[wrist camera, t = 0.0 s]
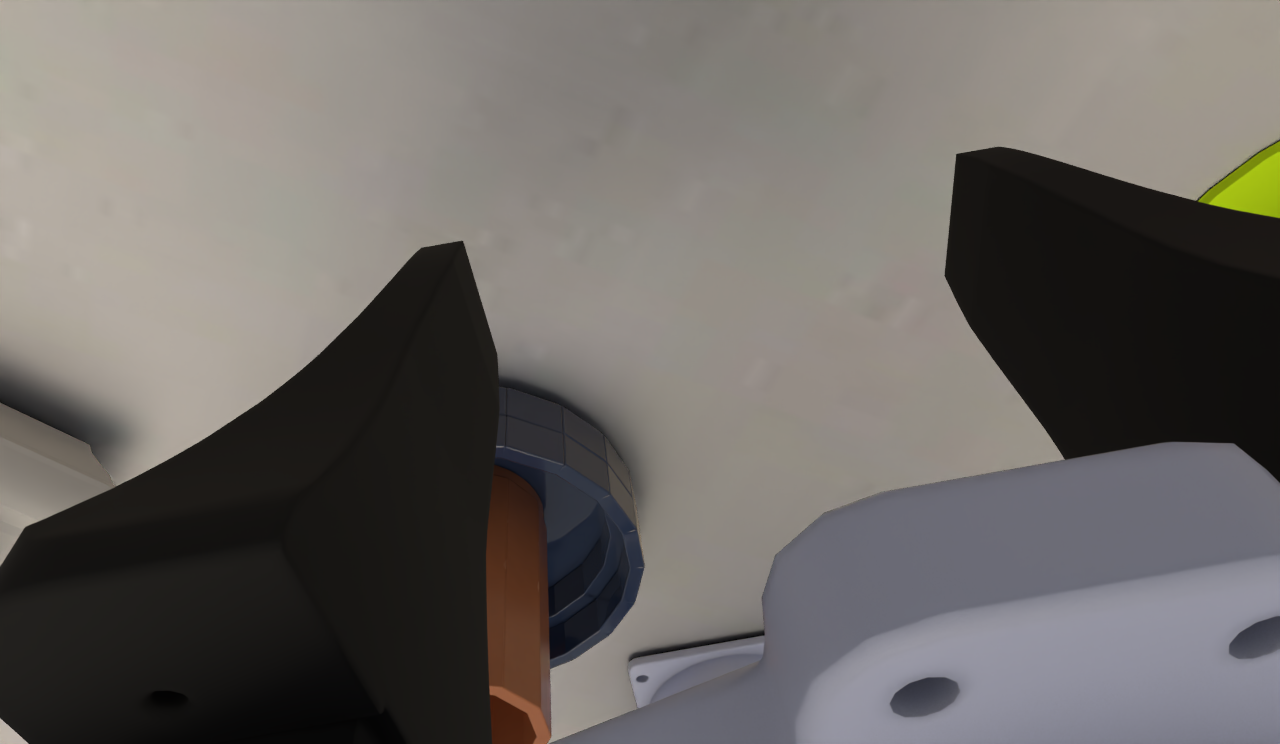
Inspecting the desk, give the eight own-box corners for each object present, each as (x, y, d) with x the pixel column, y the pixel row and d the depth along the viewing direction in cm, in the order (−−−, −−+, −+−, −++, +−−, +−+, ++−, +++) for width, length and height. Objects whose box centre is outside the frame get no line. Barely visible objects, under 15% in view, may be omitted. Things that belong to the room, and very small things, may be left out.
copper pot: (562, 571, 31) (572, 789, 24) (422, 595, 31) (394, 820, 24) (518, 424, 26) (515, 643, 20) (354, 453, 26) (299, 681, 20)
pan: (652, 582, 32) (663, 654, 30) (360, 633, 32) (345, 709, 30) (604, 343, 25) (612, 411, 23) (231, 409, 25) (199, 483, 23)
